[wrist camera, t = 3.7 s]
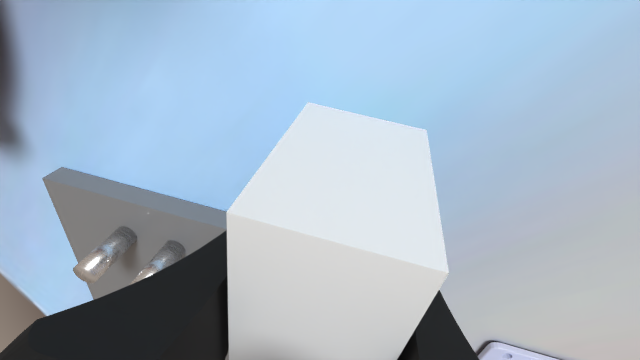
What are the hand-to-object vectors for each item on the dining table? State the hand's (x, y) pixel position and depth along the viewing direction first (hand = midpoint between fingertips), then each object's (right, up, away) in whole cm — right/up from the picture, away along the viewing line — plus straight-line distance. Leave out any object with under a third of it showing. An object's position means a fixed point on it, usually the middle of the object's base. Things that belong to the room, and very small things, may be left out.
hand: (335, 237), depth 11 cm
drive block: (0, +1, +1) cm, 2 cm away
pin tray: (-11, -5, +11) cm, 16 cm away
